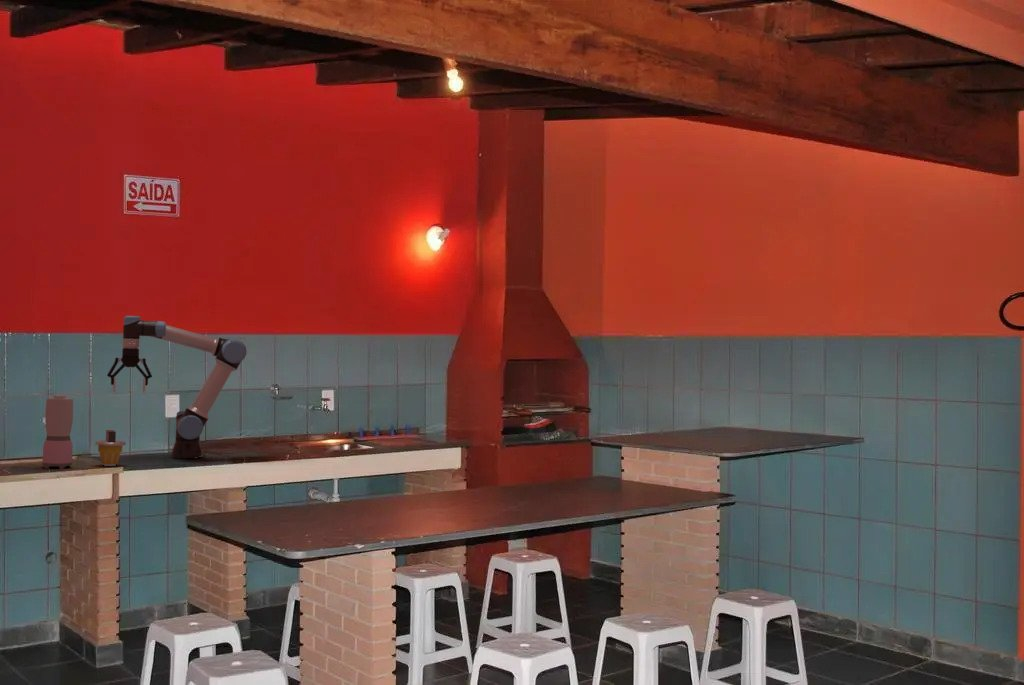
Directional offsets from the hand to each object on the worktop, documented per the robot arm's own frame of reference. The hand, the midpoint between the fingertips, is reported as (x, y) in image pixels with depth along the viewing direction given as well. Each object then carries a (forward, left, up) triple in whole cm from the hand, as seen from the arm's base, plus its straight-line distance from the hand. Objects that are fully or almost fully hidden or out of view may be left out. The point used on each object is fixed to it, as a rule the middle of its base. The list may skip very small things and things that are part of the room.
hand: (129, 392), depth 519 cm
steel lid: (+10, +23, -23) cm, 34 cm away
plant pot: (+10, +23, -33) cm, 41 cm away
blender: (+32, +26, -33) cm, 53 cm away
